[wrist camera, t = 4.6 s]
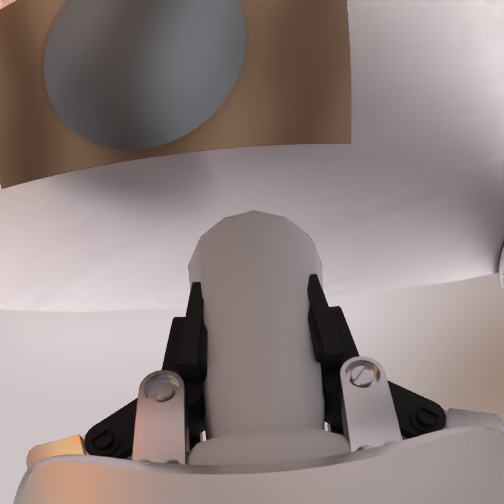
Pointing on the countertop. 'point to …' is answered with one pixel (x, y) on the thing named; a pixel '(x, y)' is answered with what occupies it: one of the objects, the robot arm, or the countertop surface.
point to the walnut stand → (166, 79)
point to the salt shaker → (260, 345)
